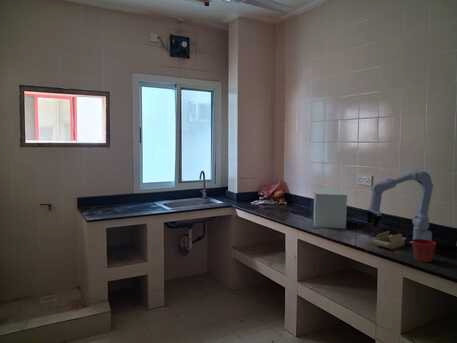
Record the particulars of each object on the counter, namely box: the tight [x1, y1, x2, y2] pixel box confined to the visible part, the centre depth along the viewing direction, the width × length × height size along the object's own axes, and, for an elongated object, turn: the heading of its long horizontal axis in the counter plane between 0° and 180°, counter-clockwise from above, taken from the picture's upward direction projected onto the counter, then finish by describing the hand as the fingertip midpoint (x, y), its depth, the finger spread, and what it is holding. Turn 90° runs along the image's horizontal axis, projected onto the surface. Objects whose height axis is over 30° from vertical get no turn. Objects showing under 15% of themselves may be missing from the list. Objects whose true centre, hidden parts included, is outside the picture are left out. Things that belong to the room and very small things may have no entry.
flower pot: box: [411, 238, 437, 263], centre depth 177 cm, size 11×11×10 cm
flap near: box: [388, 232, 404, 243], centre depth 199 cm, size 4×12×1 cm
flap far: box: [374, 230, 391, 240], centre depth 206 cm, size 4×12×1 cm
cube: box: [313, 188, 348, 229], centre depth 254 cm, size 25×21×24 cm
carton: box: [370, 234, 407, 250], centre depth 202 cm, size 11×22×3 cm, turn 125°
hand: (372, 224), depth 208 cm, fingers open, 7 cm apart
